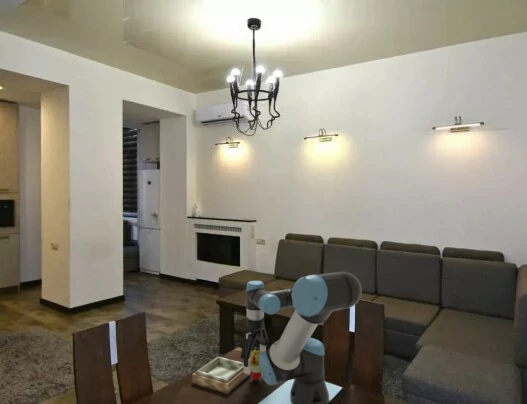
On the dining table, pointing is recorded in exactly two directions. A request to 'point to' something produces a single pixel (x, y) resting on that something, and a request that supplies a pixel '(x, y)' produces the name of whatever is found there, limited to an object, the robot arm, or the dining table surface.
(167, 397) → the dining table surface
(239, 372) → the square wooden tray
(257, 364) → the toy
